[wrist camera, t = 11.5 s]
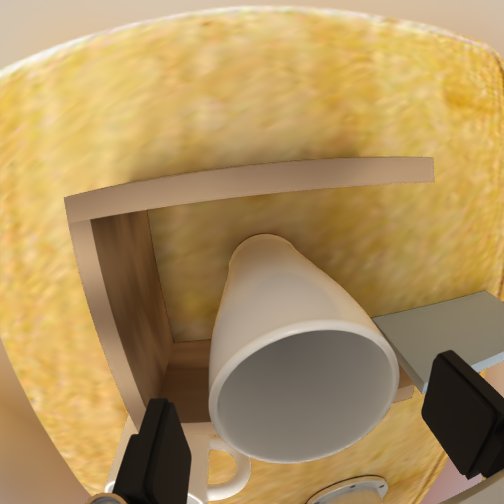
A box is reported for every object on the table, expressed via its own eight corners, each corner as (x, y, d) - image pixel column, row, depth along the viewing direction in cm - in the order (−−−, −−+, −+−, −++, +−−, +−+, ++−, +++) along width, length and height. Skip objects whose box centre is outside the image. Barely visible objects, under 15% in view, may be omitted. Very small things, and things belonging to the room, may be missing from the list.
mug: (250, 398, 27) (259, 488, 17) (245, 451, 29) (251, 529, 20) (124, 388, 26) (92, 470, 16) (136, 442, 28) (117, 516, 19)
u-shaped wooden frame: (362, 329, 26) (411, 397, 17) (163, 355, 25) (139, 436, 16) (360, 157, 22) (433, 157, 13) (126, 182, 21) (63, 197, 12)
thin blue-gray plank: (370, 327, 26) (421, 394, 17) (371, 318, 26) (424, 382, 17) (483, 299, 26) (542, 339, 17) (485, 290, 26) (545, 329, 17)
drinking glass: (316, 228, 23) (430, 322, 9) (299, 311, 25) (365, 460, 11) (224, 216, 23) (214, 309, 8) (214, 303, 24) (201, 463, 10)
